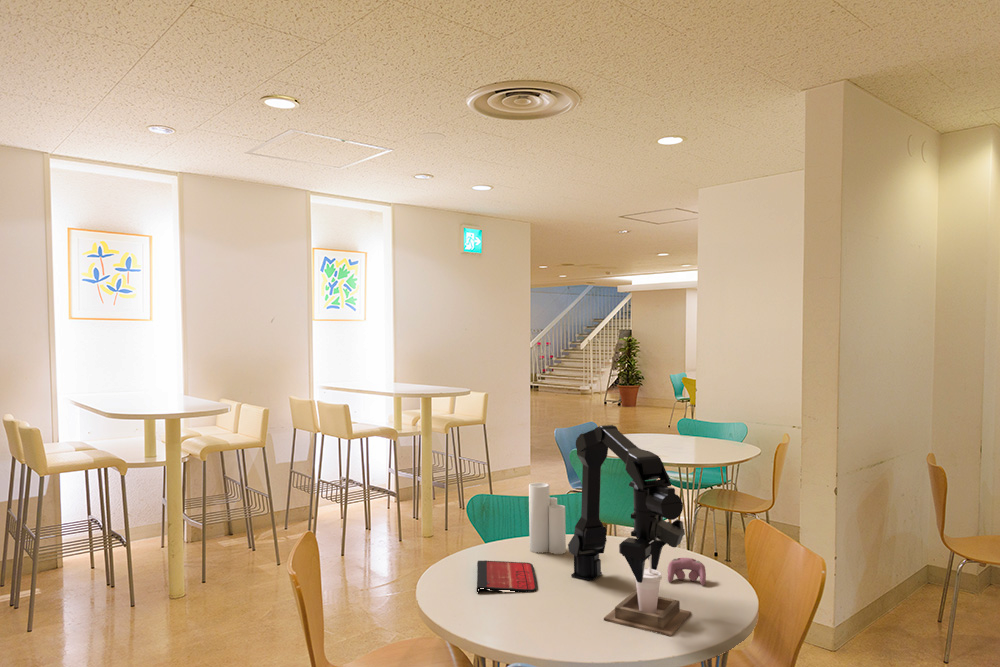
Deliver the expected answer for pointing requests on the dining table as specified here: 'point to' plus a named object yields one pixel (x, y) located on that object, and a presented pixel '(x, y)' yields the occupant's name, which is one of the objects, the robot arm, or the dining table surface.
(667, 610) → the brown shallow square tray
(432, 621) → the dining table surface
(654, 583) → the smoothie
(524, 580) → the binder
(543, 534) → the vase
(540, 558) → the dining table surface
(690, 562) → the video game controller
